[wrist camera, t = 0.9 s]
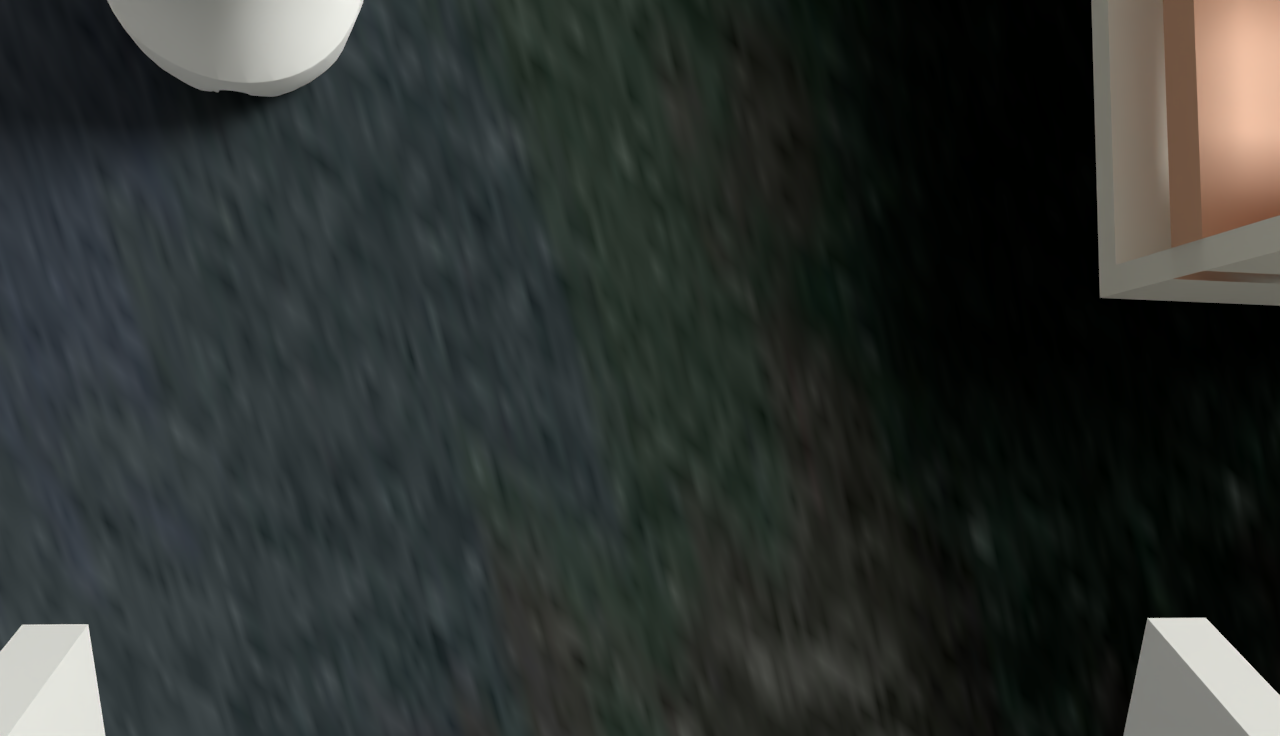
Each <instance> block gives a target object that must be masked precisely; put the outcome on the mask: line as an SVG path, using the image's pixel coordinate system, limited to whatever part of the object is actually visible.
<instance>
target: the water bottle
mask: <svg viewBox="0 0 1280 736" xmlns="http://www.w3.org/2000/svg"><path fill="white" fill-rule="evenodd" d="M107 1H108V3H109V5H110V7H111V9H112V11H113V13H114V14H115V16H116V17H117V19H118V20H119V22H120V23H121V25H122V26H123V28H124V29H125V30H126V32H127V33H128V34H129V35H130V37H131V38H132V39H133V40H134V42H135V43H136V44H137V45H138V47H139V48H140V49H141V50H142V51H143V52H144V53H145V54H146V55H147V56H148V57H149V58H150V59H151V60H152V61H154V62H155V63H156V64H157V65H158V66H159V67H160V68H162V69H163V70H165V71H166V72H168V73H169V74H171V75H173V76H174V77H176V78H178V79H179V80H181V81H183V82H184V83H186V84H188V85H190V86H192V87H194V88H196V89H199V90H202V91H210V92H212V91H214V92H219V90H230V91H237V92H242V93H246V94H248V95H251V96H266V97H274V96H279V95H282V94H285V93H288V92H291V91H294V90H296V89H298V88H300V87H302V86H304V85H306V84H308V83H310V82H311V81H313V80H314V79H315V78H317V77H318V76H319V75H321V74H322V73H323V72H325V71H326V70H327V69H328V68H329V67H330V66H331V65H332V64H333V63H334V62H335V61H336V60H337V59H338V57H339V55H340V54H341V52H342V50H343V48H344V46H345V44H346V42H347V39H348V37H349V35H350V32H351V30H352V28H353V26H354V23H355V21H356V18H357V16H358V14H359V11H360V9H361V7H362V4H363V0H107Z"/></svg>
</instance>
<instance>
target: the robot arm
mask: <svg viewBox="0 0 1280 736" xmlns="http://www.w3.org/2000/svg"><path fill="white" fill-rule="evenodd" d="M0 736H105V731H104V724H103V718H102V711H101V705H100V698H99V692H98V685H97V679H96V672H95V666H94V659H93V653H92V647H91V640H90V634H89V627H88V624H57V625H22V626H21V627H20V628H19V629H18V631H17V632H16V633H15V634H14V636H13V637H12V638H11V639H10V640H9V642H8V643H7V644H6V645H5V647H4V648H3V649H2V650H1V651H0ZM1124 736H1280V695H1279V694H1278V693H1277V692H1276V691H1275V690H1274V689H1273V688H1272V687H1271V686H1270V685H1269V684H1268V683H1267V682H1266V680H1265V679H1264V678H1263V677H1262V676H1261V675H1260V674H1259V673H1258V672H1257V671H1256V670H1255V669H1254V668H1253V667H1252V666H1251V665H1250V664H1249V663H1248V662H1247V661H1246V660H1245V658H1244V657H1243V656H1242V655H1241V654H1240V653H1239V652H1238V651H1237V650H1236V649H1235V648H1234V647H1233V646H1232V645H1231V644H1230V643H1229V642H1228V641H1227V640H1226V639H1225V638H1224V636H1223V635H1222V634H1221V633H1220V632H1219V631H1218V630H1217V629H1216V628H1215V627H1214V626H1213V625H1212V624H1211V623H1210V622H1209V621H1208V620H1207V619H1206V618H1147V623H1146V628H1145V633H1144V638H1143V642H1142V647H1141V652H1140V657H1139V662H1138V667H1137V672H1136V677H1135V682H1134V687H1133V691H1132V696H1131V701H1130V706H1129V711H1128V716H1127V721H1126V726H1125V731H1124Z"/></svg>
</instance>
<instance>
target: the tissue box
mask: <svg viewBox="0 0 1280 736" xmlns="http://www.w3.org/2000/svg"><path fill="white" fill-rule="evenodd" d="M1091 6H1092V40H1093V75H1094V110H1095V145H1096V180H1097V215H1098V250H1099V285H1100V298H1113V299H1136V300H1160V301H1183V302H1206V303H1230V304H1253V305H1276V306H1280V0H1091Z"/></svg>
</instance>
